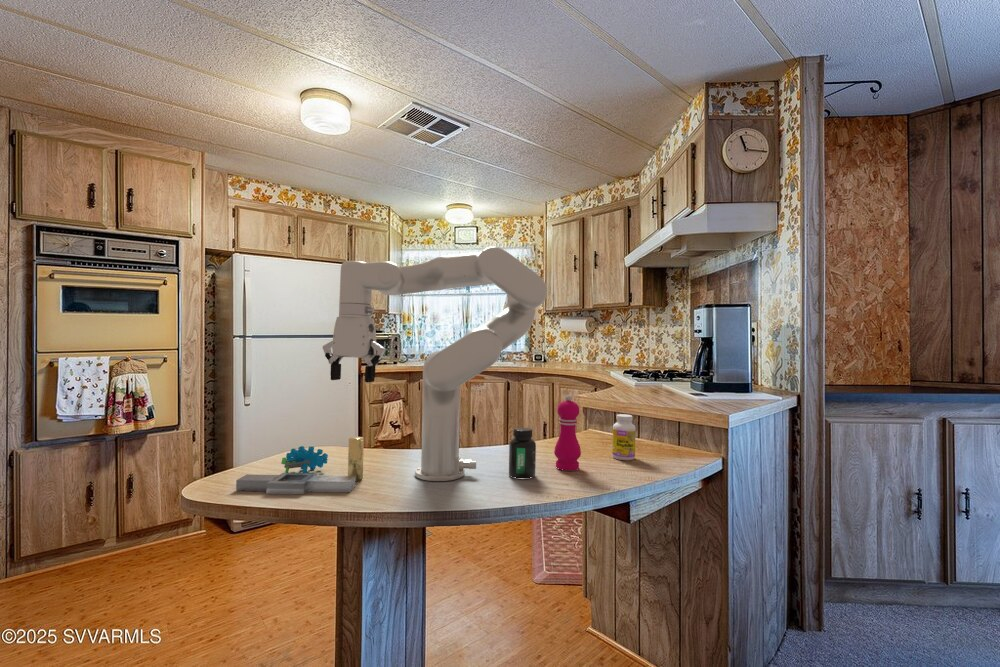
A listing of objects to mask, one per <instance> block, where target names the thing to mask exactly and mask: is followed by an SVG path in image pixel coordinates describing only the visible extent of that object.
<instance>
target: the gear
mask: <svg viewBox="0 0 1000 667" xmlns="http://www.w3.org/2000/svg"><path fill="white" fill-rule="evenodd" d="M297 448H298V449H296V448H292V449H290V452H287V453H286V455H285V456H286V457H282V460H281V462H280V463H281V465H284V466H283V468H285V471H284V473H289V470H290V469H295V468H296V469H297V468H298V469H299V468H300V470H301V471H302V472H301V473H308V468H309V469H310V470H316V468H317V467H318V468H319V469H321V468H323V467H324V464H325V465H326V464H327V463H328V457H329V456H328V454H327V453H325V452H324V450H323V449H321V448H318V449H316V450H317V451H316V452H315V447H314V446H308V448H307V449H306V448H305V446H303V445H301V446H299V447H297Z"/></svg>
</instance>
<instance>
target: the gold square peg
mask: <svg viewBox="0 0 1000 667" xmlns="http://www.w3.org/2000/svg"><path fill="white" fill-rule="evenodd" d="M364 439H365V438H364V437H363V436H352V437H349V438H348V449H347V450H348V452H347V453H348V457H347V459H348V460H347V476H356V479H355V481H357V482H360V481H361V482H362V481H363V480H362V479H363V478H364V448H365V446H364V444H365V443H364Z"/></svg>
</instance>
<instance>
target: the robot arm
mask: <svg viewBox="0 0 1000 667" xmlns="http://www.w3.org/2000/svg"><path fill="white" fill-rule="evenodd" d="M339 281H340V282H339V301H338V302H339V304H338V316H337V317H336V318H335V319H336V320H335V322H334V323H335V324H334V328H333V332H332V334H333V335H332V340H331V341H329V342H327V343H325V344H324V345H322V350H323V353H324V357H325V358H326V360H328V361H327V362H328V364H330V381H339V380H340V379H341V378H342V364H341V363H340V362H341V361H342V360H343V358H355V359H356V358H357V359H358V358H359V359H361V358H362V359H363V360H364V361H365V363H366V364H367V365H365V367H364V383H367V384H368V383H373V382H375V379H376V367H377V366H378V365H379V362H381V360H382V359H383V356H384V355H385V353H386V347H384V346H382V345H381V344H379V343H378V342H377V332H376V325H375V323H376V322H375V320H374V318H373V317H371V315H372V314H374V313H375V311H376V310H375V307H372V290H374V291H378V292H380V293H381V294H383V295H386V296H397V295H398V296H399V295H407V294H415V293H416V294H417V293H423V292H425V293H426V292H432V291H434V292H435V291H442V290H450V289H451V290H452V289H457V288H467V287H468V288H469V287H478V286H487V285H493V284H494V285H495V286H496V287H498V288H499V289H500V290H501V291H503V292H504V293H505V294H506V305H505V307H504V309H503V310H502V311H501V312H500V313H498V314H497V315H494V316H493V317H492V318H491V319H489V320H487V321H486V322H484V323H482V324H481V325H479V326H478V327H475V328H473V329H471V330H469V331H467V332H466V333H465V334H464V335H463V337H461V338H459V339H458V340H456V341H454V342H453V343H451V344H449V345H448V346H446V347H445V348H443V349H441V350H436V351H434V352H432V353H430V354H429V355H428V356H427V357H426V359H425V360H424V363H423V368H422V413H421V414H422V418H421V421H422V422H421V457H420V462H421V463H420V466H419V467H416V469H414V476H415V477H416V478H418V479H419V480H423V481H428V482H448V481H453V480H459V479H461V478H463V477H464V476H465V472H466V469H468V470H476V469H477V461H476V460H473V459H464V458H462V457H461V456H462V455H461V454H460V425H461V422H460V420H461V416H460V414H461V386H462V385H464V384H466V383H467V382H468V381H470V380H472V379H473V378H474V377H477V376H478V375H480V374H481V373H483V372H484V371H486V370H487V369H488V368H490V367H491V366H492V365H494V364H495V363H496V362H497V361H498V360H499V358H500V356H501V354H502V351H504V350H505V349H507V348H508V347H511V346H512V345H513V344H514V343H515V342H517V341H518V340H520V339H521V338H522V337H524V336H525V335H526V334H527V332H529V330H530V328H531V326H532V325H533V322H534V320H535V316H536V309H537V308H538V307H539V306H541V305H542V304H543V303H544V302H545V300H546V299H547V297H548V287H547V284H546V282H545V280H544V279H543V278H542V277H541V276H540V275H539V274H537V272H535V271H534V270H532V269H531V268H530V267H528V266H527V265H526V264H524V263H523V262H522V261H520V260H519V259H518V258H516V257H515V256H513V255H512V254H511V253H509V251H507V250H505V249H503V248H501V247H498V246H488V247H486V248H484V249H483V250H482V251H480V252H479V251H478V252H469V253H459V254H450V255H449V254H448V255H441V256H437V257H435V258H433V259H429V261H426V262H423V263H417V264H411V265H404V266H403V265H402V266H399V265H398V264H397V263H394V262H393V261H374V262H365V261H359V260H348V261H344V262H342V264H341V266H340V279H339ZM472 460H473V461H472Z"/></svg>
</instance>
